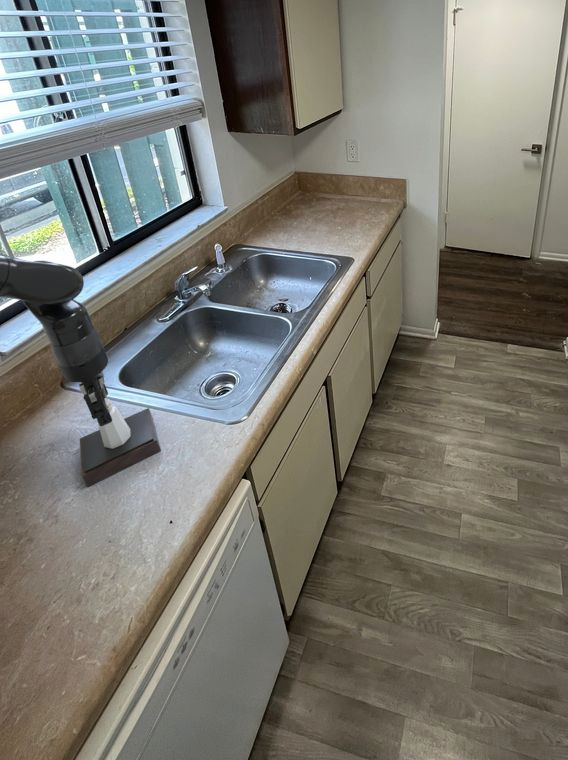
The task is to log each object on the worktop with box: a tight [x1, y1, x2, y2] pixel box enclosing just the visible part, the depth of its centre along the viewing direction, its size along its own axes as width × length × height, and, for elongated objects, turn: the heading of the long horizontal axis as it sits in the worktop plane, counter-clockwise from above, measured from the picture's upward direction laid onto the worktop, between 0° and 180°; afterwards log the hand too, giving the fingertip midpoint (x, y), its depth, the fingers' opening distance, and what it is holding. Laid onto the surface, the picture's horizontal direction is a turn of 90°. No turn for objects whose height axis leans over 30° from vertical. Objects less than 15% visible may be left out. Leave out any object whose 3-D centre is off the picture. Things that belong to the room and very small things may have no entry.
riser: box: [79, 407, 162, 488], centre depth 98 cm, size 14×11×4 cm
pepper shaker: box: [97, 398, 131, 449], centre depth 95 cm, size 5×5×11 cm
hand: (104, 409), depth 93 cm, fingers open, 8 cm apart
